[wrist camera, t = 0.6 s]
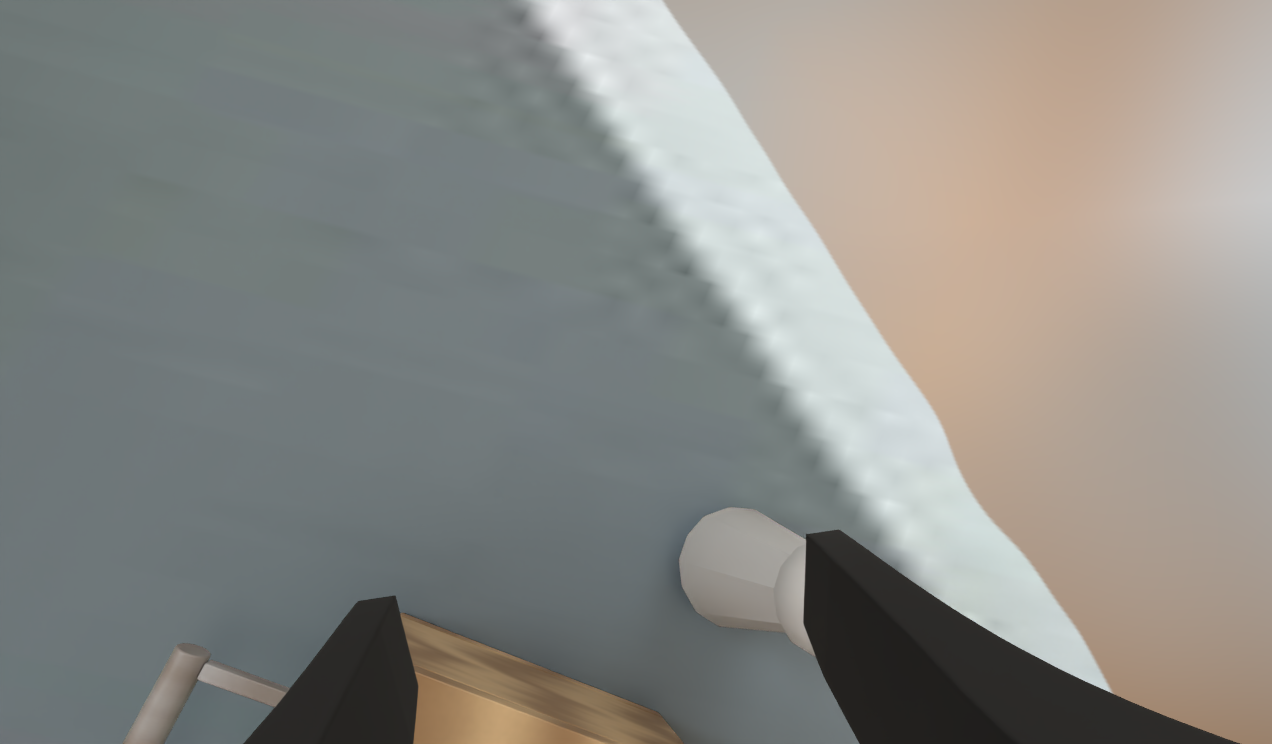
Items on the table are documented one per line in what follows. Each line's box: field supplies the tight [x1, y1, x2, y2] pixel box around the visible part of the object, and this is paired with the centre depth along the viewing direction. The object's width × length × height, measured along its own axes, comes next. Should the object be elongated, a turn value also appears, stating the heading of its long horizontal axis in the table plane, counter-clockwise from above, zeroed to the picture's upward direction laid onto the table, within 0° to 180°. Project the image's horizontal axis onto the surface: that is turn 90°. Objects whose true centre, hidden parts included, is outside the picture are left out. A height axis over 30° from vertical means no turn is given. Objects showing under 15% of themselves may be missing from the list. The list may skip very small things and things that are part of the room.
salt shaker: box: [679, 507, 816, 657], centre depth 30 cm, size 6×6×13 cm
